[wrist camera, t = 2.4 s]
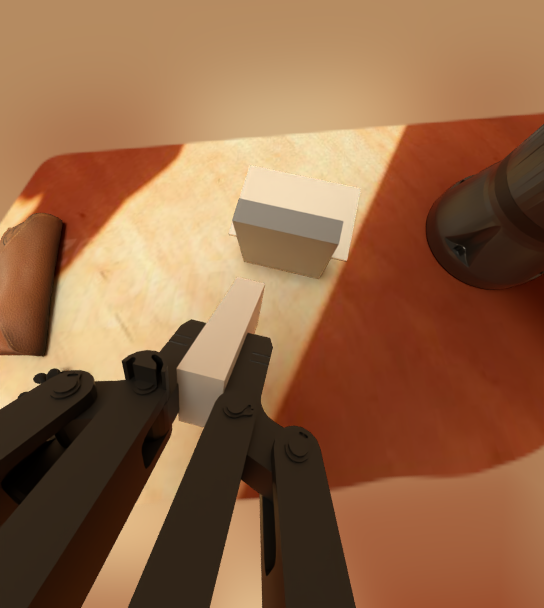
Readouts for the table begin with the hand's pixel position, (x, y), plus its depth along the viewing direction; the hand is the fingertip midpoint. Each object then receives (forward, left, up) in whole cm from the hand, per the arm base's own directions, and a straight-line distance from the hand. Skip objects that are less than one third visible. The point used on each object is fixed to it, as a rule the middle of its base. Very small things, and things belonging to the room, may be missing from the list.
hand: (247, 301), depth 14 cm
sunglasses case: (+31, +2, -18) cm, 36 cm away
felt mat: (0, -17, -18) cm, 25 cm away
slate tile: (0, -10, -18) cm, 20 cm away
